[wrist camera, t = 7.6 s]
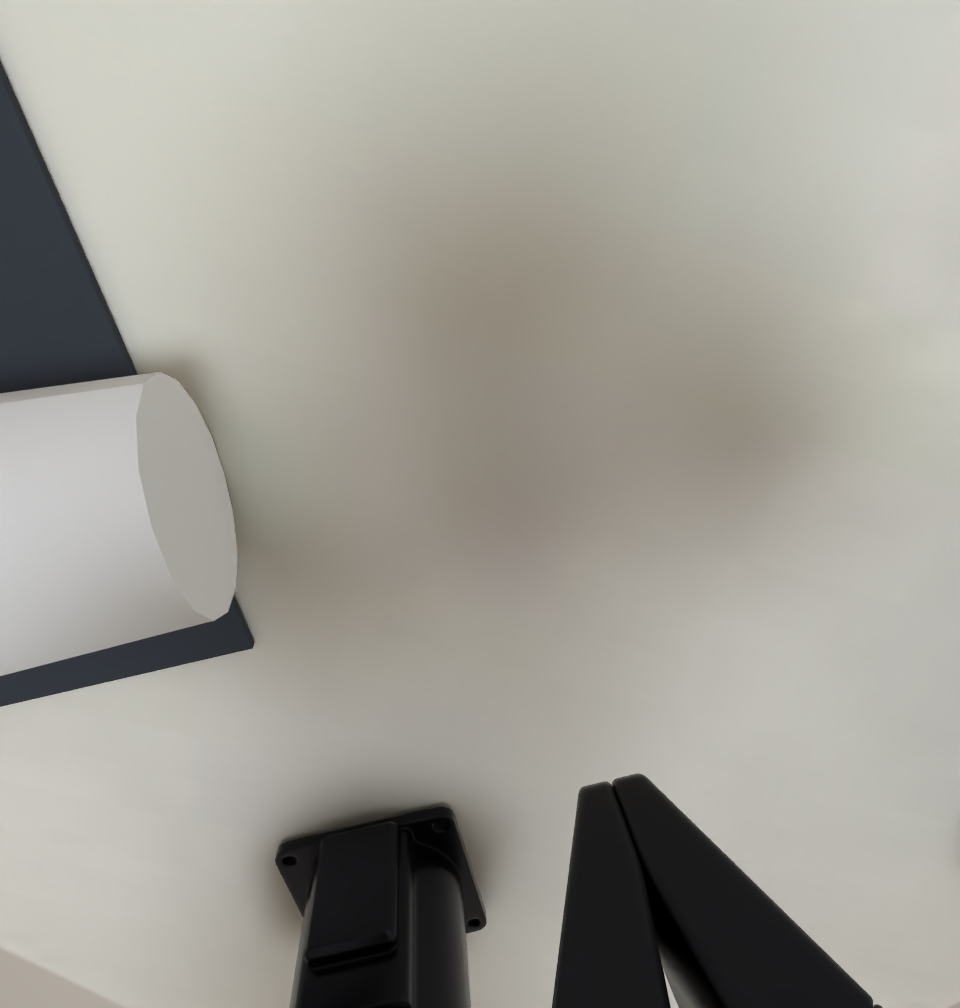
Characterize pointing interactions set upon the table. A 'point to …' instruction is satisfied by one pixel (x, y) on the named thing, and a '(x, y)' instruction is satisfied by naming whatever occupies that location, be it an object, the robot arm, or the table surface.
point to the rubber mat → (69, 382)
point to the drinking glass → (108, 518)
